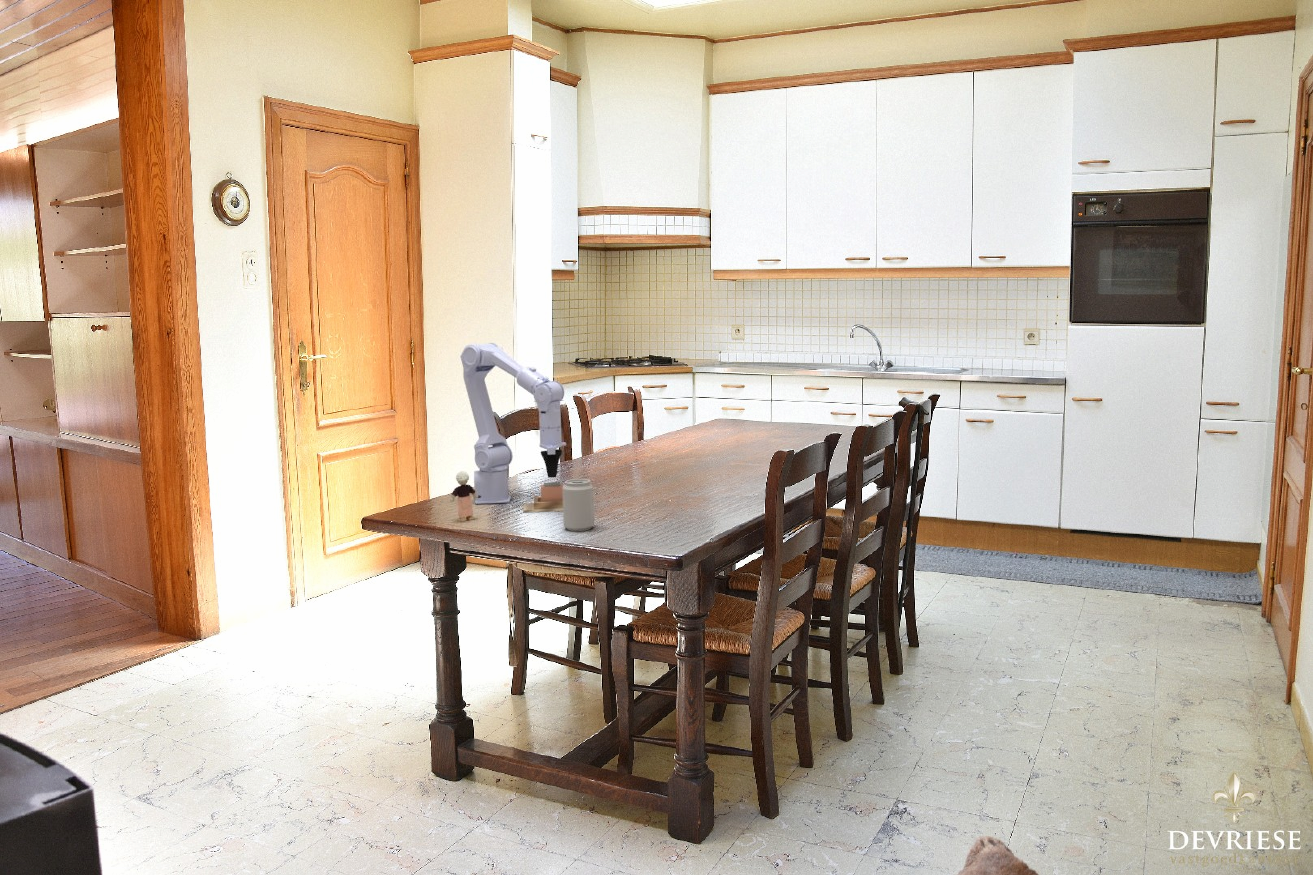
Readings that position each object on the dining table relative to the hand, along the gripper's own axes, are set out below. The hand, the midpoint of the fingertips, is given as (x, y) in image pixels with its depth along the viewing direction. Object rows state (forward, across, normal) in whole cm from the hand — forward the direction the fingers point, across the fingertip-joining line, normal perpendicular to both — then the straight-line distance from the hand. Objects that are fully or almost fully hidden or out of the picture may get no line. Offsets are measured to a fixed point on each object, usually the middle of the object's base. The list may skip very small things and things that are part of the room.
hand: (552, 477), depth 275 cm
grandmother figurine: (+9, -10, +23) cm, 27 cm away
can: (+9, -26, -6) cm, 28 cm away
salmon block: (+8, 0, 0) cm, 8 cm away
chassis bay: (+8, 0, 0) cm, 8 cm away
